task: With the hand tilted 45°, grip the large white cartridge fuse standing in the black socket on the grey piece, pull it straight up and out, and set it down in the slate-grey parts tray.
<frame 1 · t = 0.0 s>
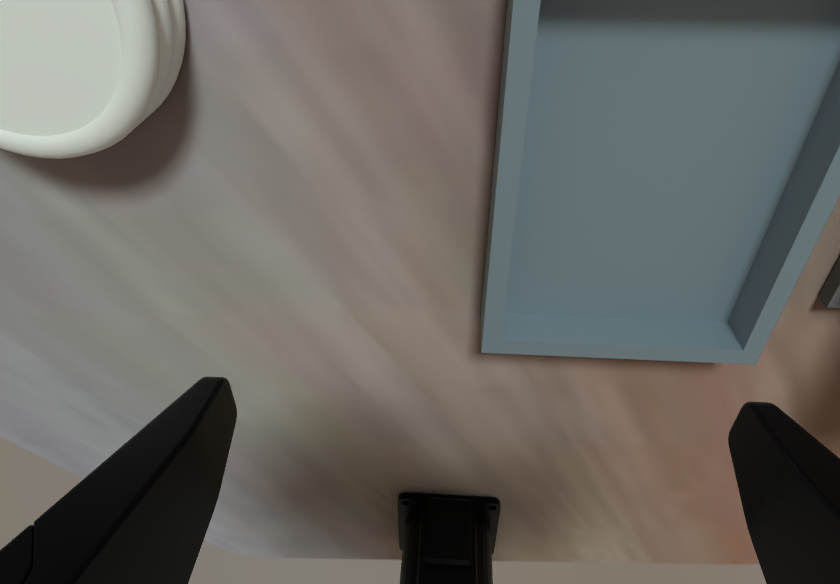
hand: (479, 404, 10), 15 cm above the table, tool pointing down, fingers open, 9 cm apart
parts tray: (646, 167, 23), on the table
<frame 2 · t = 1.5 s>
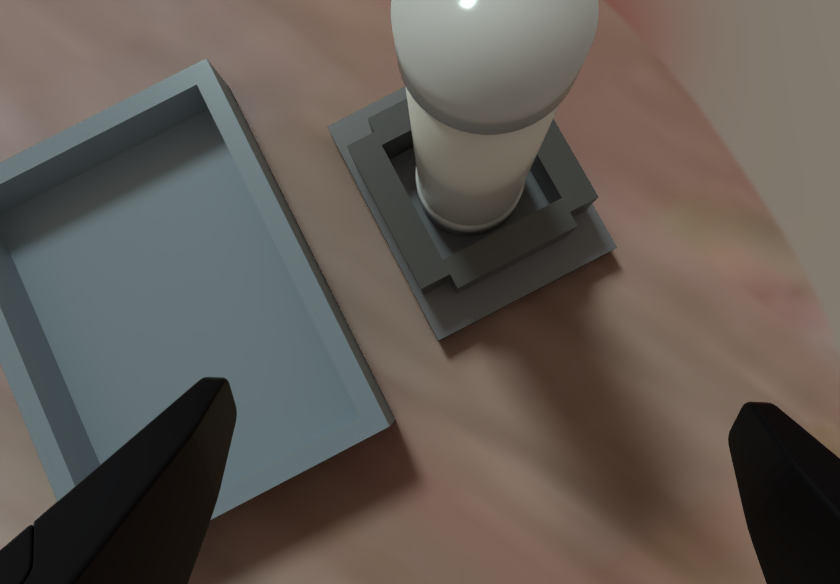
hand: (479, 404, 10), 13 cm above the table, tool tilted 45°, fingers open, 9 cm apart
parts tray: (181, 312, 24), on the table
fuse: (468, 185, 24), point 1 cm above the table, touching grey piece
grey piece: (467, 191, 25), on the table
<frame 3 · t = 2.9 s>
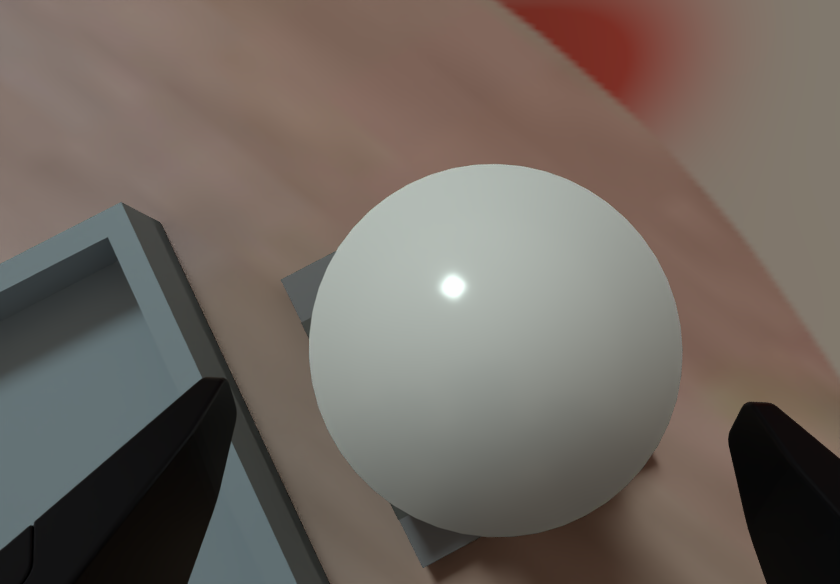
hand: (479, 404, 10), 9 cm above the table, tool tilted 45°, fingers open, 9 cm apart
parts tray: (94, 518, 19), on the table
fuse: (461, 359, 19), point 1 cm above the table, touching grey piece
grey piece: (460, 359, 19), on the table
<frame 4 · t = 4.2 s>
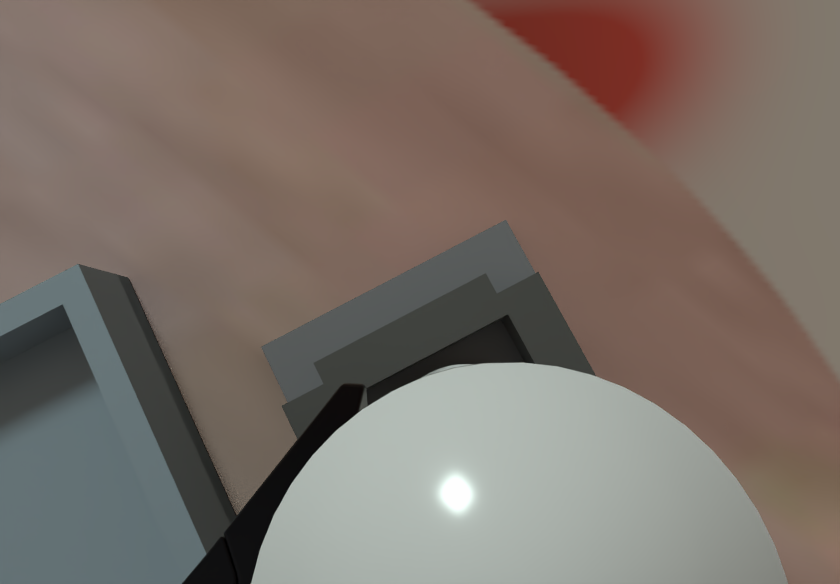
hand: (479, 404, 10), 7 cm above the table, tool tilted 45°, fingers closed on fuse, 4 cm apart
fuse: (464, 439, 16), point 1 cm above the table, touching grey piece, gripper
grey piece: (463, 436, 17), on the table
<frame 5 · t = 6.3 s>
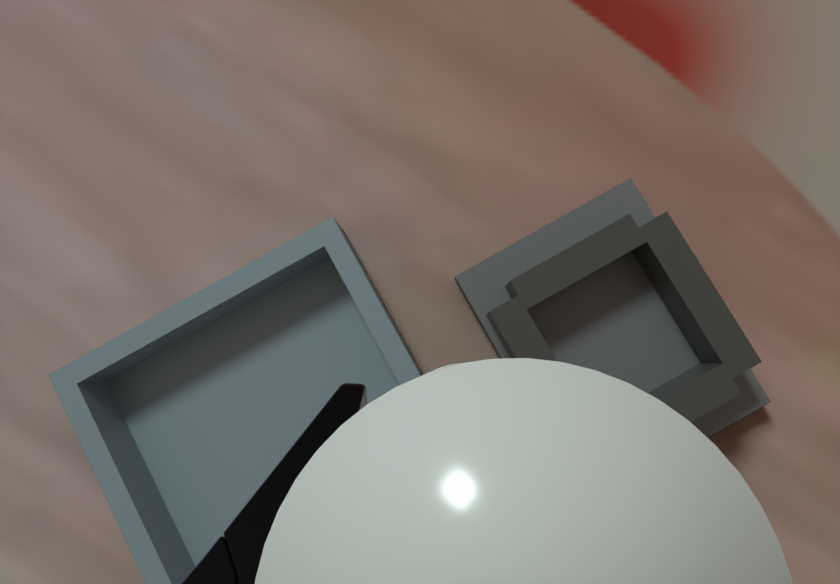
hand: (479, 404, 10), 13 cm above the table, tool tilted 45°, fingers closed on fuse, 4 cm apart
parts tray: (307, 476, 23), on the table
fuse: (465, 438, 16), point 7 cm above the table, touching gripper
grey piece: (603, 338, 23), on the table
when the fingers open (8 cm above the table, at t = 8.3 s): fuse drops 1 cm, resting on parts tray.
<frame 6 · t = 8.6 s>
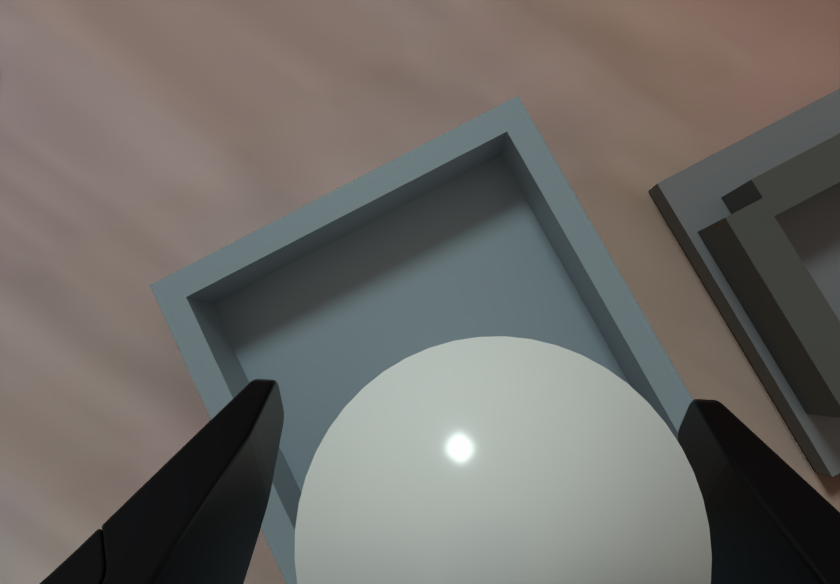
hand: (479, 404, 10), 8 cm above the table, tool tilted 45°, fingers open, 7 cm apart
parts tray: (462, 430, 18), on the table
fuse: (463, 434, 18), point 1 cm above the table, touching parts tray
grey piece: (839, 268, 19), on the table
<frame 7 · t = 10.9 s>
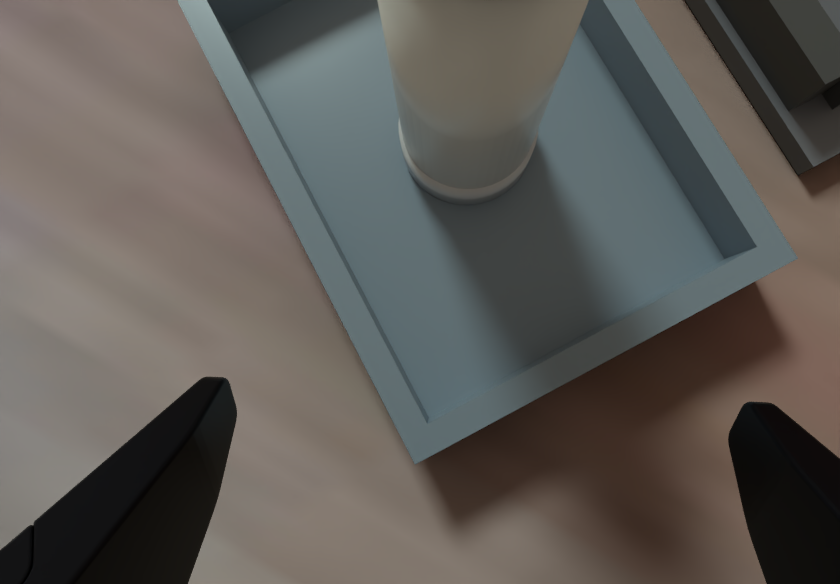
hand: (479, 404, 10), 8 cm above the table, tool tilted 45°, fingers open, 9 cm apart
parts tray: (465, 148, 20), on the table
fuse: (466, 142, 19), point 1 cm above the table, touching parts tray
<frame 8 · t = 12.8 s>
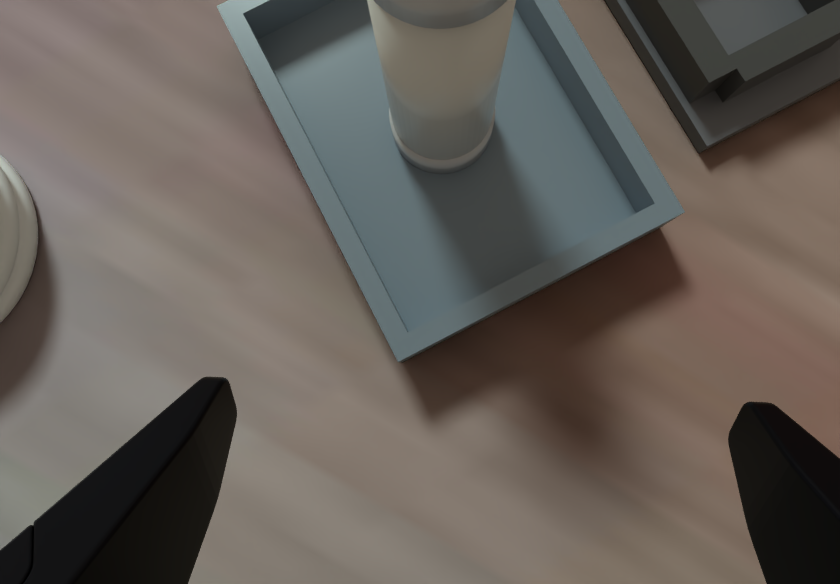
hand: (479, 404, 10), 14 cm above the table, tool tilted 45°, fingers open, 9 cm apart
parts tray: (441, 130, 25), on the table
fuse: (442, 125, 25), point 1 cm above the table, touching parts tray
grey piece: (719, 12, 25), on the table
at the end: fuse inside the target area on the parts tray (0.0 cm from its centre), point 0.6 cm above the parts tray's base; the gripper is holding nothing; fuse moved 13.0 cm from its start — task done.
